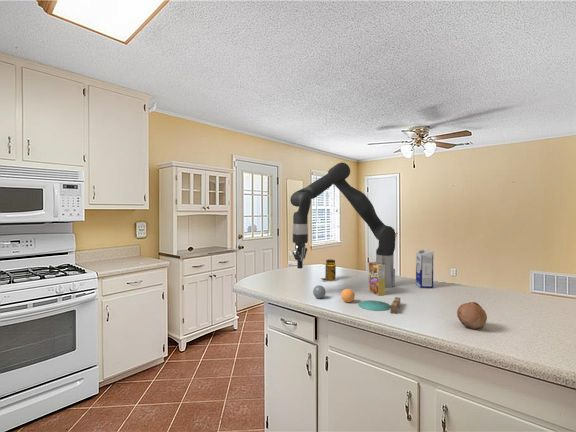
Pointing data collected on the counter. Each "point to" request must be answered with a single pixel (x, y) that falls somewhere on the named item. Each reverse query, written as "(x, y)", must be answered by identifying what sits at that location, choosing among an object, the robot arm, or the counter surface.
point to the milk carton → (424, 268)
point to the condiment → (330, 271)
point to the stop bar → (395, 305)
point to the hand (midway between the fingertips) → (300, 268)
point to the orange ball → (347, 295)
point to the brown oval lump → (472, 315)
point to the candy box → (377, 278)
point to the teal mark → (374, 305)
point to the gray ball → (319, 291)
